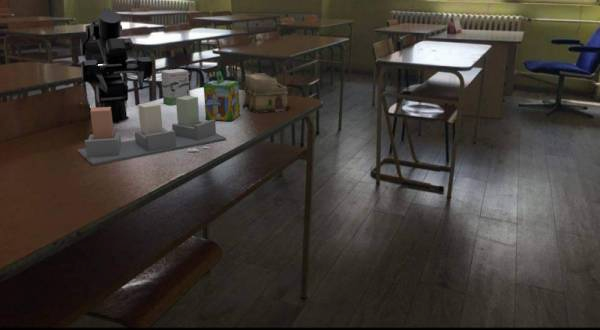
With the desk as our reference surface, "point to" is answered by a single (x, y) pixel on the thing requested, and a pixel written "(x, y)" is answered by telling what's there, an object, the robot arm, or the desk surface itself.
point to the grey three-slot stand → (149, 143)
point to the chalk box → (221, 99)
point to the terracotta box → (102, 123)
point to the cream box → (150, 118)
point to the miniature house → (264, 93)
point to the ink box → (174, 85)
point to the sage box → (187, 110)
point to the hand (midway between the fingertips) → (125, 90)
